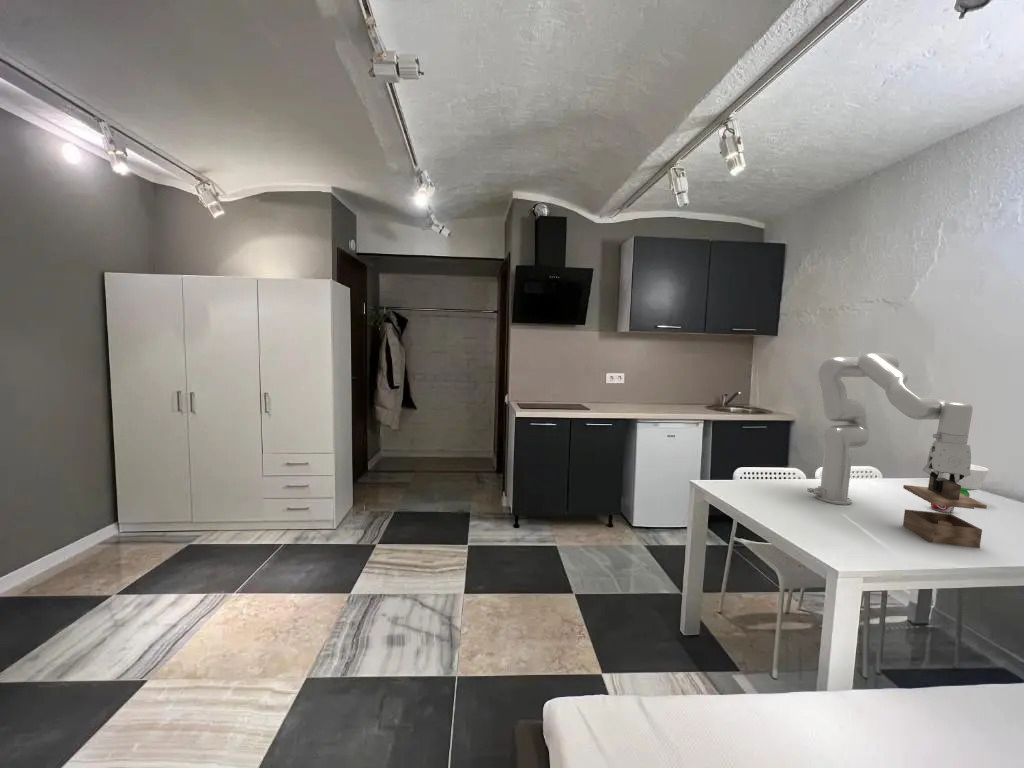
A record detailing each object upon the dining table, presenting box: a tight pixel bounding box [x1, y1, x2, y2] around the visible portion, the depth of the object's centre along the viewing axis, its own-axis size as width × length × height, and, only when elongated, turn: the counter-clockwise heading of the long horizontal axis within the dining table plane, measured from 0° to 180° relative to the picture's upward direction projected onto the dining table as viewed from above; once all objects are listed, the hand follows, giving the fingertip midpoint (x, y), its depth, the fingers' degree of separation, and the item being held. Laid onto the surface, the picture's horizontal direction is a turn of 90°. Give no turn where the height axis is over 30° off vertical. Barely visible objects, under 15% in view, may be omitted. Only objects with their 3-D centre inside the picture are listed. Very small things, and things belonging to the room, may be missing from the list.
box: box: [902, 508, 983, 549], centre depth 157 cm, size 14×14×7 cm
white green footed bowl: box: [944, 463, 990, 497], centre depth 196 cm, size 14×14×16 cm
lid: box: [902, 474, 987, 510], centre depth 156 cm, size 15×15×7 cm
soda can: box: [930, 503, 955, 514], centre depth 185 cm, size 7×7×12 cm
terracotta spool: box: [938, 520, 952, 526], centre depth 159 cm, size 4×4×4 cm
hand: (943, 491), depth 156 cm, fingers closed on lid, 3 cm apart
